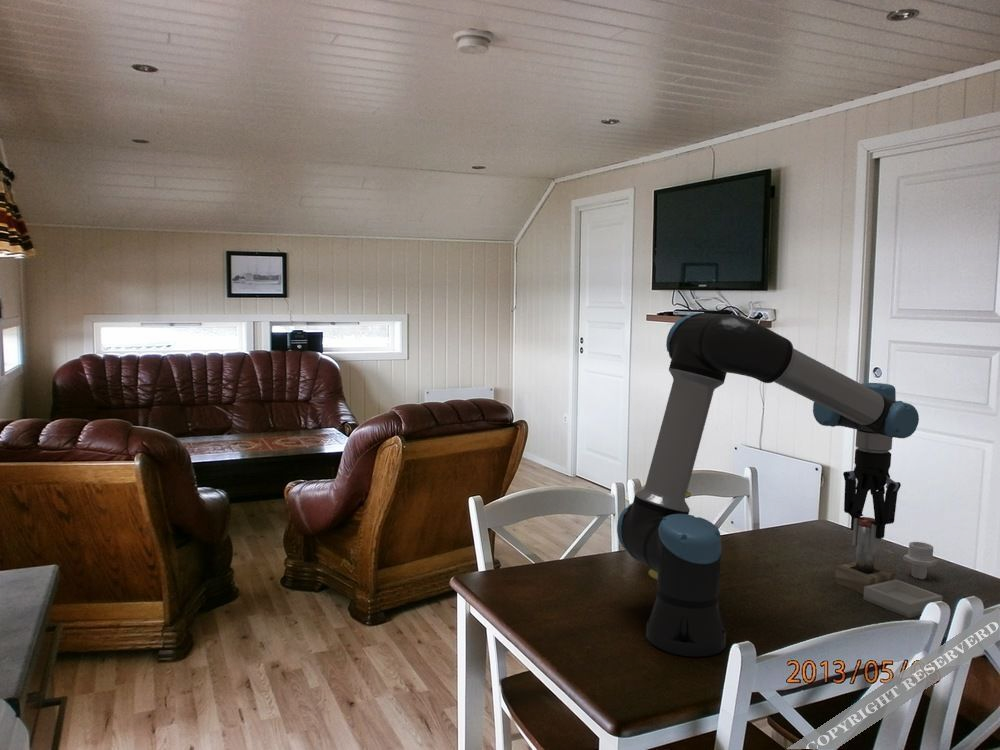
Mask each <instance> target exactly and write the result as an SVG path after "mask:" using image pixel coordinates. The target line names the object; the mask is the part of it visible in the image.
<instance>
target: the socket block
mask: <svg viewBox="0 0 1000 750" xmlns="http://www.w3.org/2000/svg"><path fill="white" fill-rule="evenodd" d="M855 562H856V561H853V562H849V563H843V564H840V565H839V564H838V565H835V572H834V575H835V576H834V583H835V584H838V585H841V586H843V587H846V588H848V589H850V590H853V591H856V592H858V593H860V594H863V595H864V586H869V585H873V584H878V583H882V582H886V581H891V580H895V579H896V572H894V571H891V570H888V569H885V568H883V567H880V566H877V565H874V573H872V574H868V575H867V574H865V573H862V572H859V571H857V570H855Z"/></svg>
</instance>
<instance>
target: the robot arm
mask: <svg viewBox="0 0 1000 750" xmlns="http://www.w3.org/2000/svg"><path fill="white" fill-rule="evenodd" d="M665 347H666V351H667V352H668V357H669V358H670V359H671V360H670V364H669V368H668V371H669V373H670V375H671V377H672V380H673V381H672V384H671V387H670V393H669V395H668V399H667V403H666V406H665V410H664V413H663V418H662V422H661V424H660V429H659V433H658V437H657V441H656V443H655V448H654V451H653V455H652V459H651V461H650V462H651V463H650V466H649V471H648V474H647V478H646V482H645V484H644V487H643V489H641V490H639V491H637V492H636V493H635V495H634V498H633V502H632V503H630V504H628V505H627V507H625V508H624V509H623V510H622V512H621V513H620V514H619V517H618V520H617V525H616V531H617V532H616V533H617V538H618V540H619V543H620V545H621V546H622V548H623V549H624V550H625V551H626V552H627V553H628V554H629V555H630V556H631V557H632V558H633V559H635V560H636V561H638V562H641V563H642V564H643V565H645V566H646V567H647V568H649V569H650V570H651V569H652V570H654V571H655V572H657V573H658V577H657V580H656V581H657V583H656V584H657V585H656V598H655V601H654V603H653V607H652V610H651V613H650V616H649V618H648V619H647V621H646V625H645V628H646V629H645V631H646V632H645V637H646V639H647V641H648V642H649V643H650V644H651V645H653V646H654V647H656V648H658V649H659V650H662V651H665V652H666V653H671V654H673V655H678V656H683V657H684V656H685V657H693V658H694V657H696V658H698V657H699V658H700V657H710V656H715V655H717V654H719V653H721V652H722V651H724V649H726V645H727V644H726V642H727V632H726V628H725V627H724V626H725V625H724V622H723V618H722V617H723V616H722V615H721V609H720V606H719V593H720V591H719V590H720V578H721V577H720V574H721V557H722V556H721V555H722V553H723V548H722V535H721V532H720V530H719V528H718V527H717V525H715V524H714V523H713V522H711V521H710V520H708V519H705V518H703V517H699V516H698V517H696V516H695V515H692V514H690V510H691V509H690V508H689V505H688V503H687V502H686V498H685V497H686V493H687V491H688V489H689V485H690V481H691V477H692V473H693V471H694V470H693V469H694V466H695V462H696V460H697V456H698V451H699V448H700V444H701V440H702V436H703V433H704V429H705V426H706V422H707V418H708V414H709V410H710V406H711V404H712V399H713V396H714V392H715V390H716V389H717V388H720V386H723V385H724V384H725V380H726V377H727V374H728V373H729V374H733V375H734V374H735V375H740V376H745V377H749V378H753V379H755V380H757V381H760V382H762V383H764V384H771V383H776V384H778V385H779V386H781V387H783V388H785V389H788V390H789V391H792V392H794V393H795V394H798V395H799V396H802V397H804V398H806V399H808V400H810V401H811V402H813V405H812V413H813V417H814V419H815V421H816V422H817V423H818V424H819V425H821V426H824V427H832V428H834V427H843V428H849V429H853V430H856V436H855V447H856V449H855V450H854V464H855V467H854V468H853V470H848V471H844V472H843V473H842V475H843V478H844V502H843V503H844V504H843V511H844V513H845V514H848V515H850V518H851V520H850V530H851V531H852V542H851V546H854V547H857V535H858V521H859V517H864V514H863V511H864V508H865V505H866V501H867V496H868V492H870V495H871V496H872V505H873V506H872V507H873V515H874V519H875V522H874V523H873V524H872V527H871V540H870V552H875V553H877V552H880V551H881V549H882V547H881V545H882V539H884V538H885V533H886V532H885V530H886V525H891V524H894V523H895V517H896V516H895V515H896V510H897V501H898V500H897V499H898V492H899V490H900V488H901V486H902V484H901V482H899V481H895V480H893V479H892V478H891V475H890V468H891V464H892V463H891V462H892V453H891V452H890V451H892V448H893V438H897V439H907V438H908V437H910V436H912V435H913V434H914V433H915V432H916V430H917V428H918V425H919V421H920V417H919V413H918V410H917V408H916V407H915V406H914V405H912V404H910V403H908V402H905V401H904V402H903V401H901V400H896V397H897V395H896V387H895V386H894V385H893V384H889V383H882V382H863V383H860V382H858V381H856V380H854V379H852V378H850V377H849V376H847V375H845V374H843V373H841V372H839V371H837V370H835V369H833V368H831V367H830V366H827V365H826V364H824V363H822V362H820V361H819V360H816V359H815V358H813V357H811V356H808V355H807V354H805V353H803V352H801V351H799V350H797V349H796V348H795V347H794V345H793V343H792V341H790V339H788V338H786V337H784V336H783V335H780V334H778V332H777V333H776V332H775V331H773V330H772V329H769V328H768V327H765V326H763V325H762V324H759V323H758V322H756V321H754V320H752V319H750V318H747V317H744V316H741V315H737V314H728V313H726V314H724V313H723V314H722V313H710V312H698V313H692V314H688V315H684V316H683V317H681V318H679V319H678V320H677V321H676V322H674V324H673V325H672V326H671V328H670V329H669V331H668V333H667V336H666V345H665ZM885 488H886V489H885Z"/></svg>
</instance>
